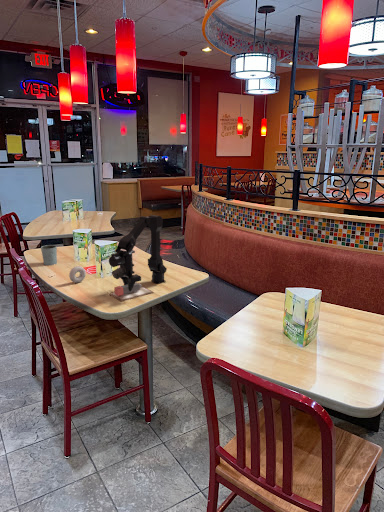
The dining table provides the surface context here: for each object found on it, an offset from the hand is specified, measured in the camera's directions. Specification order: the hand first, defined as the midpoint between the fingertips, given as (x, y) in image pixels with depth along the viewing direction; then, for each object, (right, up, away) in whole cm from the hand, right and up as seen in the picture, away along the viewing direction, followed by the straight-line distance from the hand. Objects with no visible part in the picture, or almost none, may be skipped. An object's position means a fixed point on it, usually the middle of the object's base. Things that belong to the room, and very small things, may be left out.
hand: (128, 290), depth 206 cm
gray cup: (-63, +13, +55) cm, 84 cm away
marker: (0, -1, 0) cm, 1 cm away
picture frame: (+1, -2, +2) cm, 3 cm away
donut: (-33, +3, +19) cm, 38 cm away
